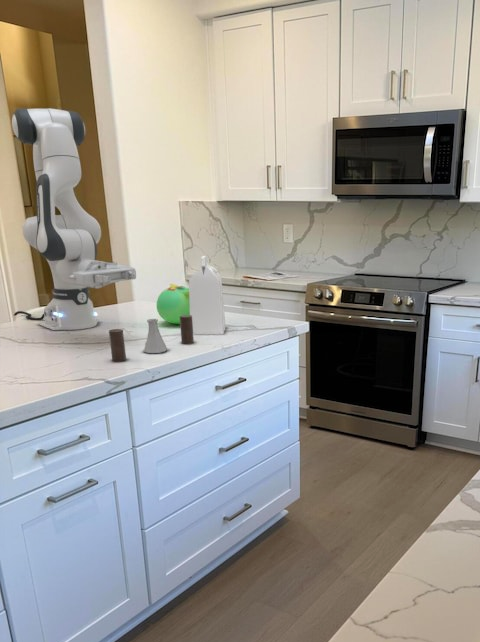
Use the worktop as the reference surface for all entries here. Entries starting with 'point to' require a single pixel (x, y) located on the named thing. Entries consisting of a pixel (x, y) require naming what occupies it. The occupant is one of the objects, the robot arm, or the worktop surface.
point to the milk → (206, 300)
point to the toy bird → (173, 303)
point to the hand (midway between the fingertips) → (121, 277)
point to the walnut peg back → (186, 329)
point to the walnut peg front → (117, 345)
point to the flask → (154, 338)
